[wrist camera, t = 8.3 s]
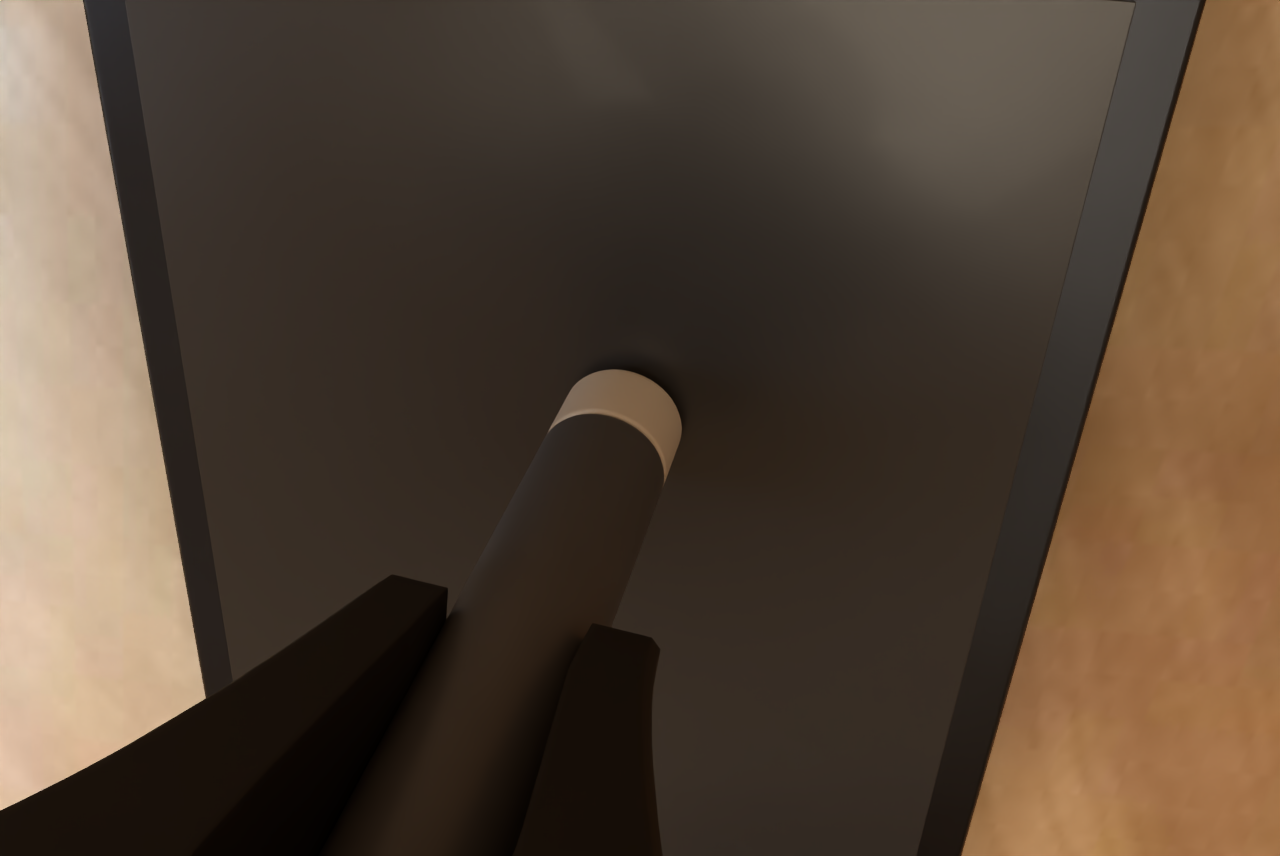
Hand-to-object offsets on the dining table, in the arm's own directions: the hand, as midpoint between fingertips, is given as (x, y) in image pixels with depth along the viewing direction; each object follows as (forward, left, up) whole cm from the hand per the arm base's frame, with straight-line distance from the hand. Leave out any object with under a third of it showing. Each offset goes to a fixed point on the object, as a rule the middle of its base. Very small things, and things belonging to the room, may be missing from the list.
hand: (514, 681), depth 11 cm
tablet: (-1, -1, -5) cm, 5 cm away
